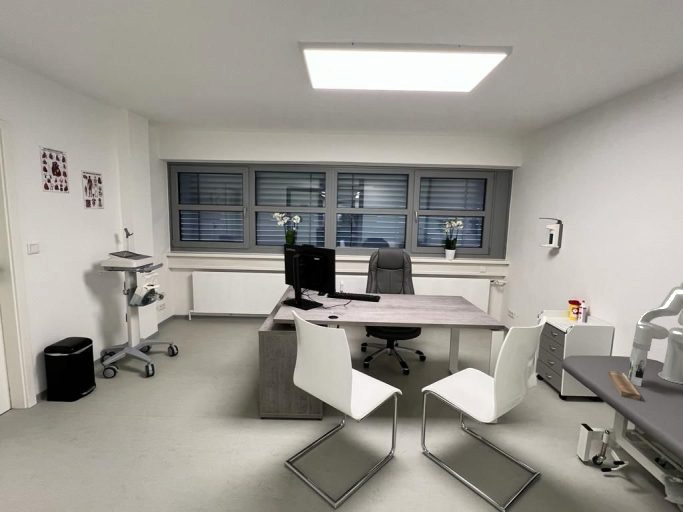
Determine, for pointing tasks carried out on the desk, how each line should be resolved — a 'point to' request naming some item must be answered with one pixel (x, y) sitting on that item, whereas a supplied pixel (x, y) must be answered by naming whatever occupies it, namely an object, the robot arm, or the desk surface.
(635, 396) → the walnut board
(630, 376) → the syrup box
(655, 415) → the desk surface
